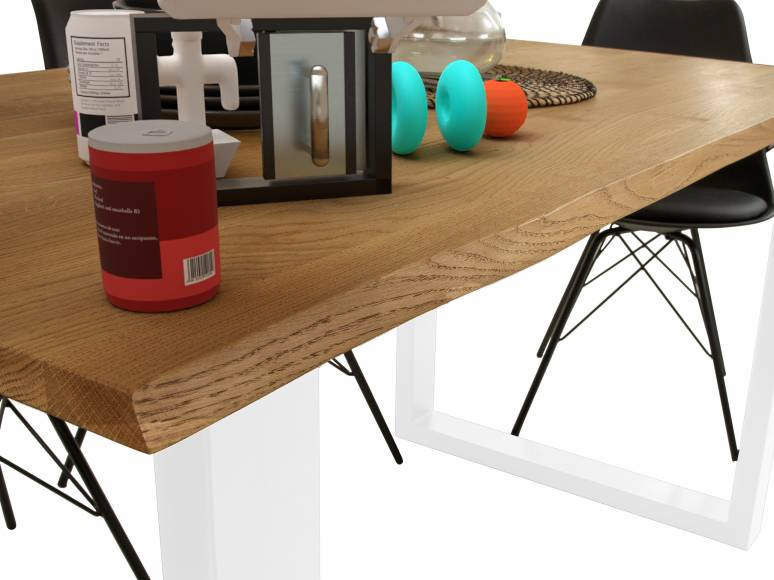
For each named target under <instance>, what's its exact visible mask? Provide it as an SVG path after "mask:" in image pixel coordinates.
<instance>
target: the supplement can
mask: <svg viewBox="0 0 774 580" xmlns="http://www.w3.org/2000/svg"><path fill="white" fill-rule="evenodd" d="M130 13H145V11H142V10H134V9H111V8H110V9H82V10H81V9H80V10H73V11H71V12H70V13H69V14H70V16H69V19H68V21H67V23H66V26H65V28H64V29H65V40H66V48H67V58H68V67H69V77H70V84H71V85H70V86H71V93H72V95H71V96H72V104H73V113H74V114H73V115H74V122H75V131H76V142H77V152H78V158H80V159H81V160H82V161H84V162H85V164H86V165H88V166H89V167H90V162H89V149H88V133H89V132H90V131H92V130H93V129H95V128H98V127H101V126H104V125H108V124H114V123H120V122H128V121H138V110H137V99H136V87H135V75H134V64H133V52H132V41H131V28H130V17H129V14H130Z"/></svg>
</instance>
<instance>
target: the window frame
mask: <svg viewBox="0 0 774 580" xmlns="http://www.w3.org/2000/svg"><path fill="white" fill-rule="evenodd" d="M129 17H130V28H131V41H132V52H133V64H134V75H135V87H136V99H137V110H138V121H139V120H163V115H162V102H161V89H160V87H161V86H159V75H158V62H157V56H158V51H157V37H156V33H171V32H202V33H204V32H206V33H207V32H222V30H221V29H220V28H219V27H218V25H217V21H216V19H174V18H172V17H170V16H169V15H168V14H167V13H166V12H152V13H151V12H150V13H148V12H144V13H130V14H129ZM241 19H251V21H252V26H253V29H252V31H253V32H262V33H284V32H342V31H352V32H355V77H356V163H357V174H350V175H346V174H344V175H329V176H314V177H300V178H285V179H275V180H264V179H263V175H262V176H249V177H248V176H247V177H232V178H216V192H217V207H226V206H227V207H228V206H241V205H253V204H267V203H279V202H293V200H295V201H306V200H305V199H308V200H321V199H333V198H334V199H335V198H346V197H360V196H372V195H385V194H392V193H393V151H392V63H393V53H373V52H372V50H371V47H372V45H371V44H370V42H369V37H368V33H369V29H370V28H371V27H372V26H371V22H372V19H373V17H326V18H241Z"/></svg>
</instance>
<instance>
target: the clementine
mask: <svg viewBox="0 0 774 580" xmlns="http://www.w3.org/2000/svg"><path fill="white" fill-rule="evenodd" d="M483 83H484V88H485V93H486V102H487V115H486V123H485V128H484V132H483V134H485V135H488V136H490V137H493V138H505V137H508V136H511V135H513V134H514V133H516V132H517V131H519V130H520V129H521V127H523V125H524V123H525V122H526V119H527V117H528V112H529V105H528V103H529V102H528V97H527V95H526V93H525V92H524V89H522V87H521V86H520V85H518V84H517V83H516V82H514V80H513V79H511V78H502V77H501V76H499V78H492V79H489V80H487V81H485V82H483Z"/></svg>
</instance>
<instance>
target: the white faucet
mask: <svg viewBox="0 0 774 580" xmlns="http://www.w3.org/2000/svg"><path fill="white" fill-rule="evenodd" d="M170 36H171V37H170V38H171V39H172V43H171V47H172V48H173V54H172V55H163V56H159V55H157V62H158V75H159V87H176V100H177V101H176V102H177V115H178V120H181V121H190V122H196V123H200V124H204V125H206V126H207V124H206V123H207V120H206V119H207V118H206V104H205V89H204V86H205V85H213V84H218V86H219V92H220V103H221V106H222V108H223V109H224V110H227V111H235V110H237V109H238V108H239V106H240V95H239V94H240V93H239V92H240V91H239V75H238V74H239V73H238V66H237V63H236V60H235V59H234V57H230V56H229V54H226V53H216V54H202V39H203V32H170ZM211 129H212V136H213V144H214V155H215V173H216V179H221V178H225V176H226V175H227V174H226V173H227V172H228V170H229V167H230V165H231V164H232V161H233V160H234V158H235V156H236V153H237V151H238V149H239V147H240V146H241V143H242V141H241V140H239V139H237V138H235V137H233V136H231V135H230V134H228V133H226V132H224V131H222V130H220V129H218V128H215V129H213V128H211Z"/></svg>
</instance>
